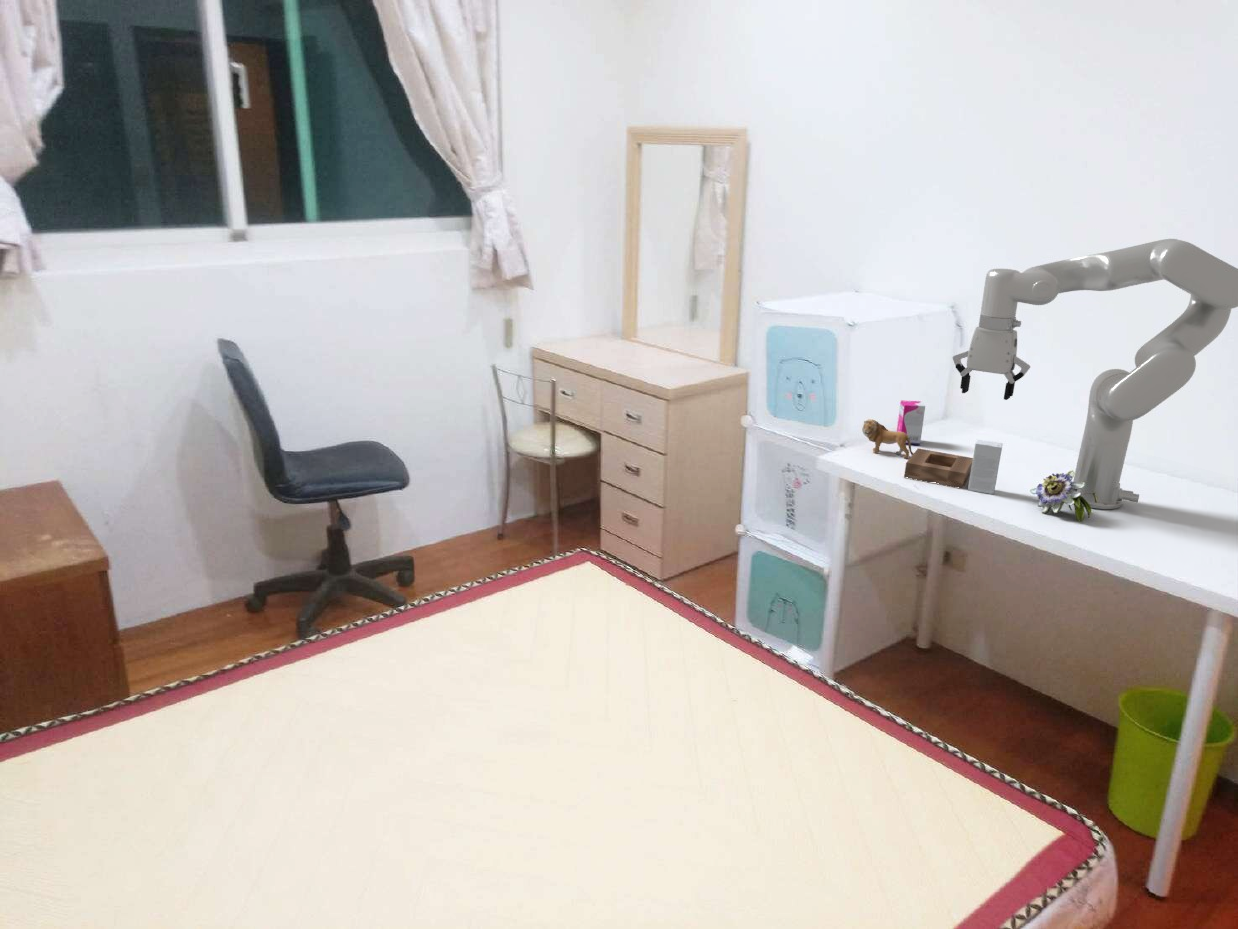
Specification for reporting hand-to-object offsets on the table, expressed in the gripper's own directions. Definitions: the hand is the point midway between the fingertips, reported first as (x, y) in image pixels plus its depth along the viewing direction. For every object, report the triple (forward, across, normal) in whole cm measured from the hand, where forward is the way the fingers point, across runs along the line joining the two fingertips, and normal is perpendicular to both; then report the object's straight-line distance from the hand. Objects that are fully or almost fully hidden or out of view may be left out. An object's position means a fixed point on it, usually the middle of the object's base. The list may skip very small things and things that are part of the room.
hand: (985, 395), depth 213 cm
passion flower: (+24, -21, +4) cm, 32 cm away
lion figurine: (+23, +26, -10) cm, 36 cm away
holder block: (+23, +9, -2) cm, 25 cm away
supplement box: (+23, +25, -26) cm, 43 cm away
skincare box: (+23, -2, +1) cm, 23 cm away
